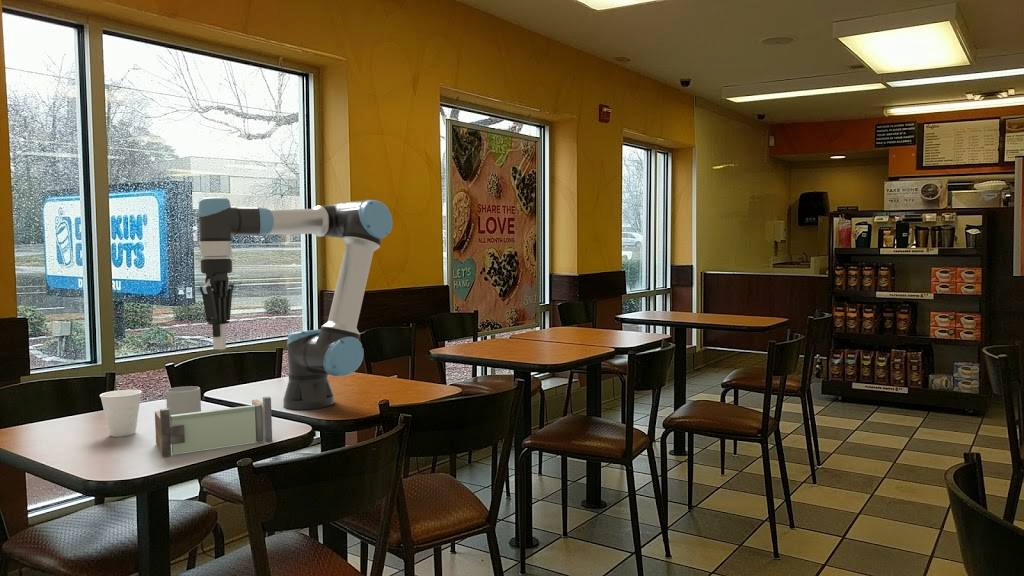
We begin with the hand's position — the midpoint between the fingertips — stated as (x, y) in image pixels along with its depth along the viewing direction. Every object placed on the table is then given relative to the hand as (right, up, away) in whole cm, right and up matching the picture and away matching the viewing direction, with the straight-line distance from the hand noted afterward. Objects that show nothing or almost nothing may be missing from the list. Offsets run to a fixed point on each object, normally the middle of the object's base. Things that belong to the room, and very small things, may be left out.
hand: (219, 349), depth 195 cm
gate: (+5, -23, -13) cm, 26 cm away
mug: (-13, -22, +9) cm, 28 cm away
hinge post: (+11, -22, -1) cm, 25 cm away
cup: (-27, -23, +3) cm, 35 cm away
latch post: (-7, -23, -13) cm, 28 cm away
